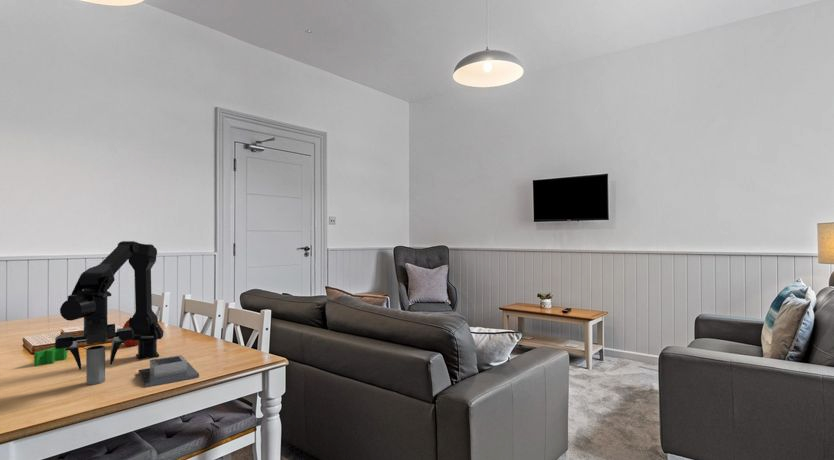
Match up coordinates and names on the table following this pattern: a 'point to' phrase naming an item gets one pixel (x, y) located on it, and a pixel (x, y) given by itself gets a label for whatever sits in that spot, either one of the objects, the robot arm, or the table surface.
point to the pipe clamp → (49, 356)
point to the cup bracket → (167, 371)
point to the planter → (95, 364)
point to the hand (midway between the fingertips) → (95, 366)
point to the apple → (129, 342)
